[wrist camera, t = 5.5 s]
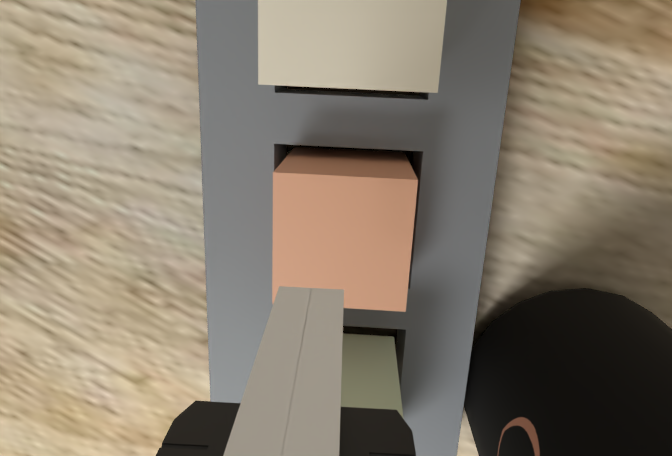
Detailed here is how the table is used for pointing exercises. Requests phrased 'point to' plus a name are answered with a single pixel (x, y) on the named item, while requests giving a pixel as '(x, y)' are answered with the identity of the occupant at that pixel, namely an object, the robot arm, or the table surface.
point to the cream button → (351, 44)
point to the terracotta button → (345, 224)
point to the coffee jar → (572, 379)
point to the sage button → (370, 373)
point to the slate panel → (357, 132)
